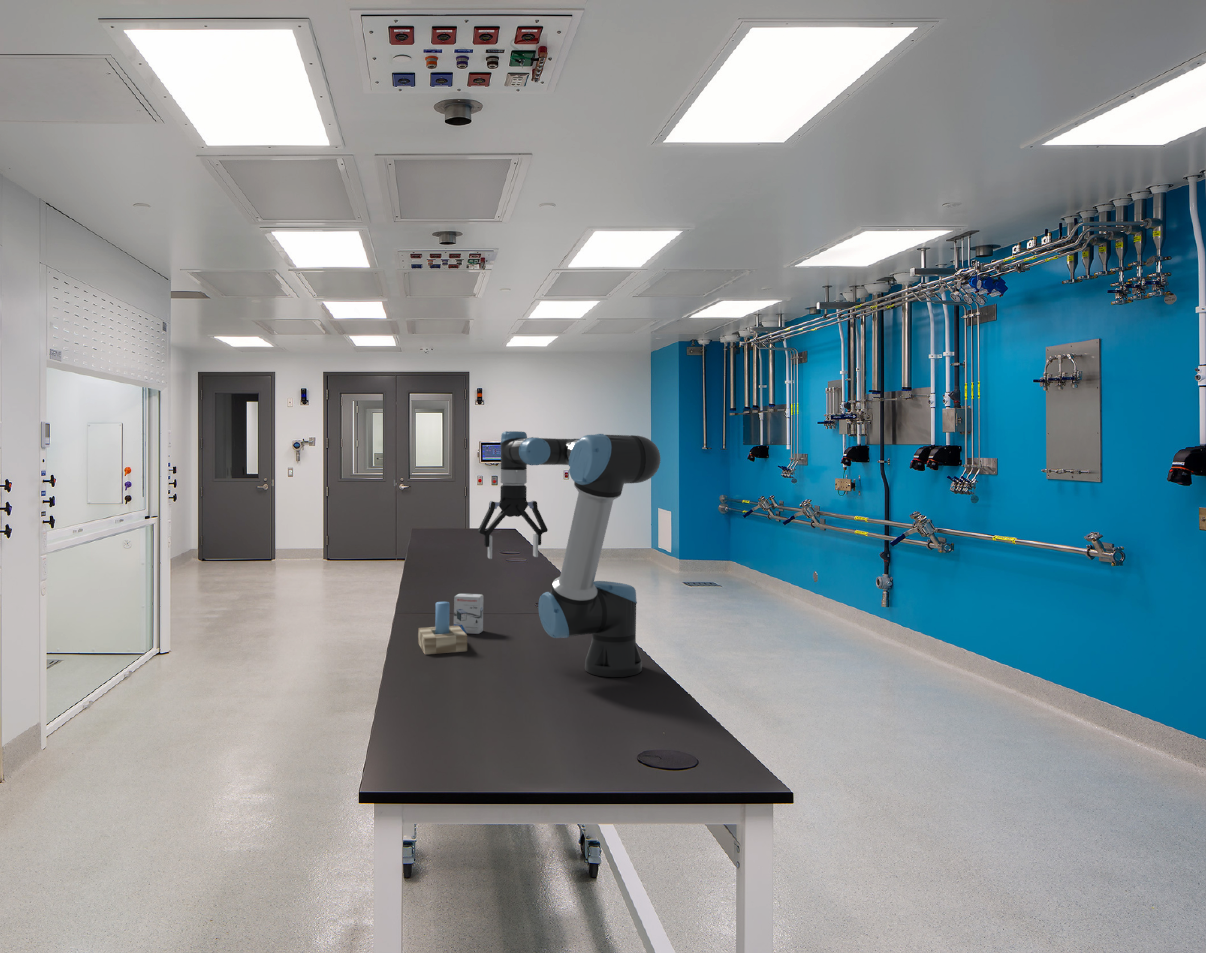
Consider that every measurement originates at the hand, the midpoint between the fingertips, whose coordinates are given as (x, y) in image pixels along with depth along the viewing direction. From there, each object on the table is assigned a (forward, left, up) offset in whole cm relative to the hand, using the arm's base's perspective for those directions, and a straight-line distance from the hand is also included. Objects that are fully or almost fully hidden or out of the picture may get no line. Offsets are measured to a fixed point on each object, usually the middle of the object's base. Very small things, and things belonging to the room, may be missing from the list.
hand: (512, 557), depth 225 cm
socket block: (+8, +19, -27) cm, 34 cm away
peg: (+8, +19, -27) cm, 34 cm away
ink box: (+25, +8, -27) cm, 38 cm away
